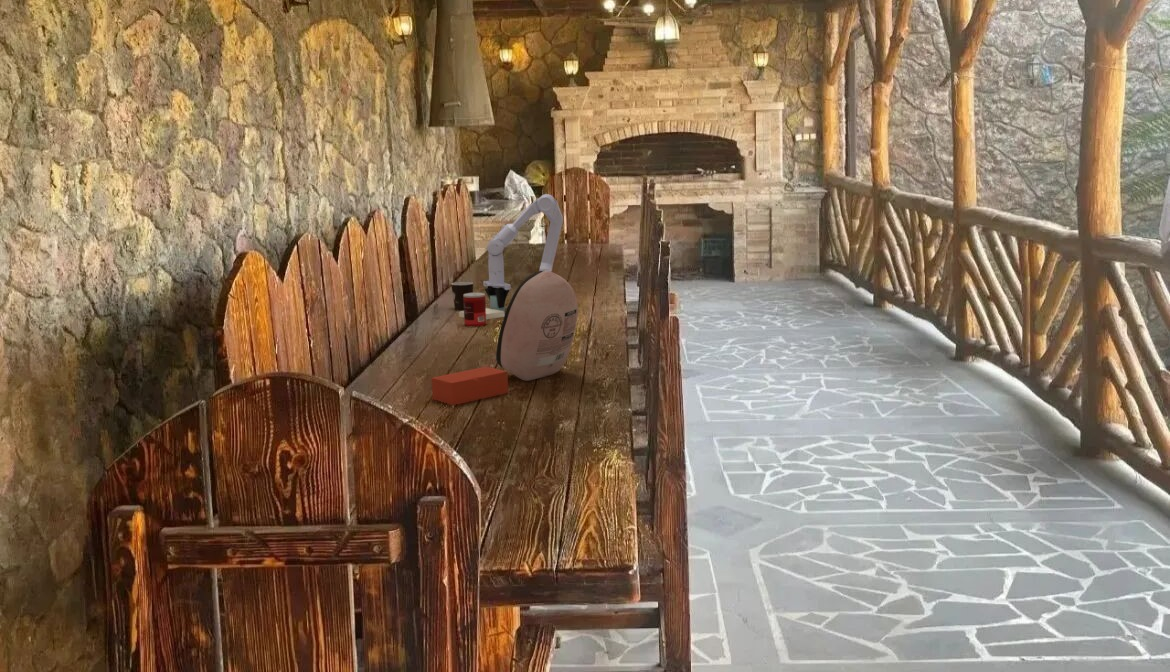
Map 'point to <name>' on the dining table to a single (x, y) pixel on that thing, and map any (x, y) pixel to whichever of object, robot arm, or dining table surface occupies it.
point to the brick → (469, 385)
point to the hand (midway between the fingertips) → (497, 306)
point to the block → (495, 303)
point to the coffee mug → (460, 293)
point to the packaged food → (538, 327)
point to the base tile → (488, 313)
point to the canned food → (474, 309)
